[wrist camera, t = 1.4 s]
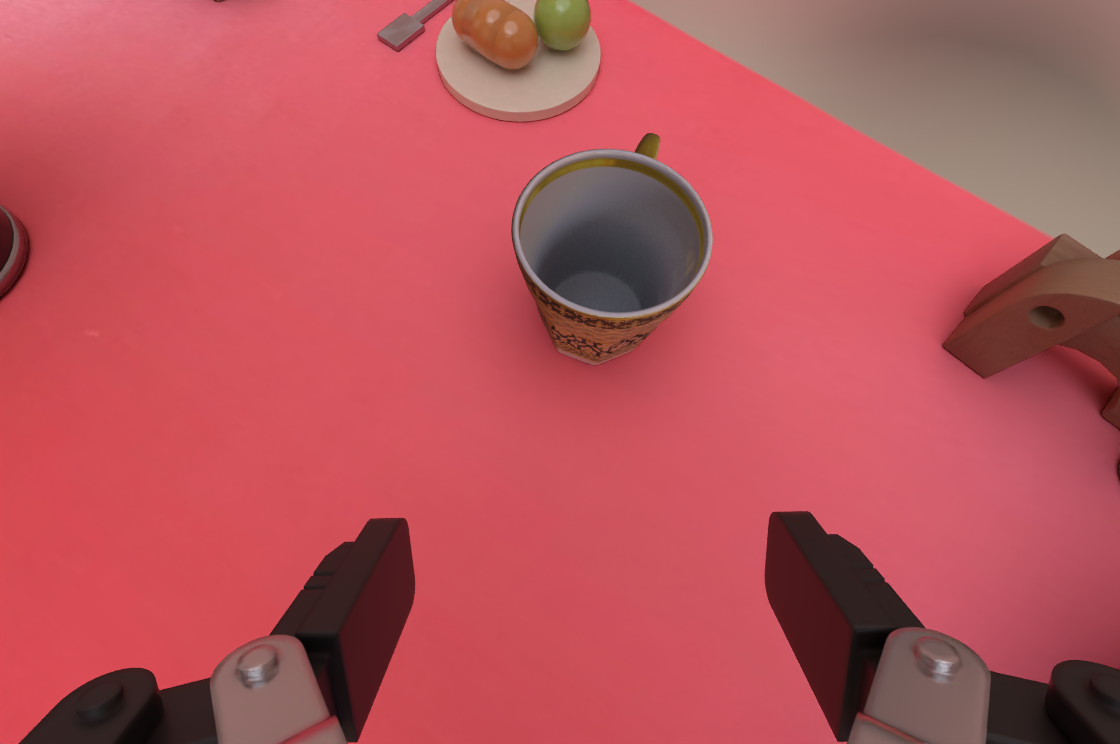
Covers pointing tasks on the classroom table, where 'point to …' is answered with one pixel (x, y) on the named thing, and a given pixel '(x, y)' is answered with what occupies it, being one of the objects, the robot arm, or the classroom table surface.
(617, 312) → the ceramic cup
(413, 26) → the metal spatula
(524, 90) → the lunch plate
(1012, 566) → the classroom table surface
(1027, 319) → the wooden toy
